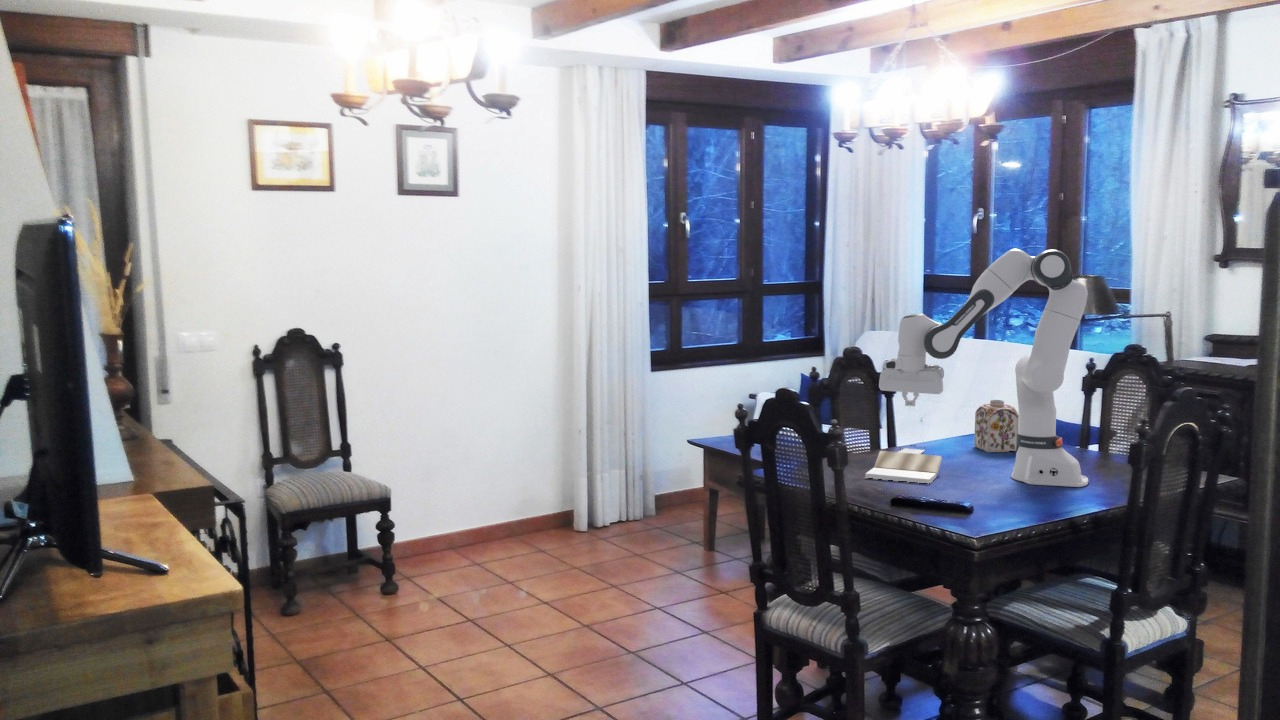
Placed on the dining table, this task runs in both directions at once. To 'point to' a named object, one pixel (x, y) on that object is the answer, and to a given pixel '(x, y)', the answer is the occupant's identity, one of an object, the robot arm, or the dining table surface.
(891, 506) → the dining table surface
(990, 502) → the dining table surface
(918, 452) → the baseboard
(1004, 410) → the decorative jar
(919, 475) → the white board
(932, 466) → the birch plank
